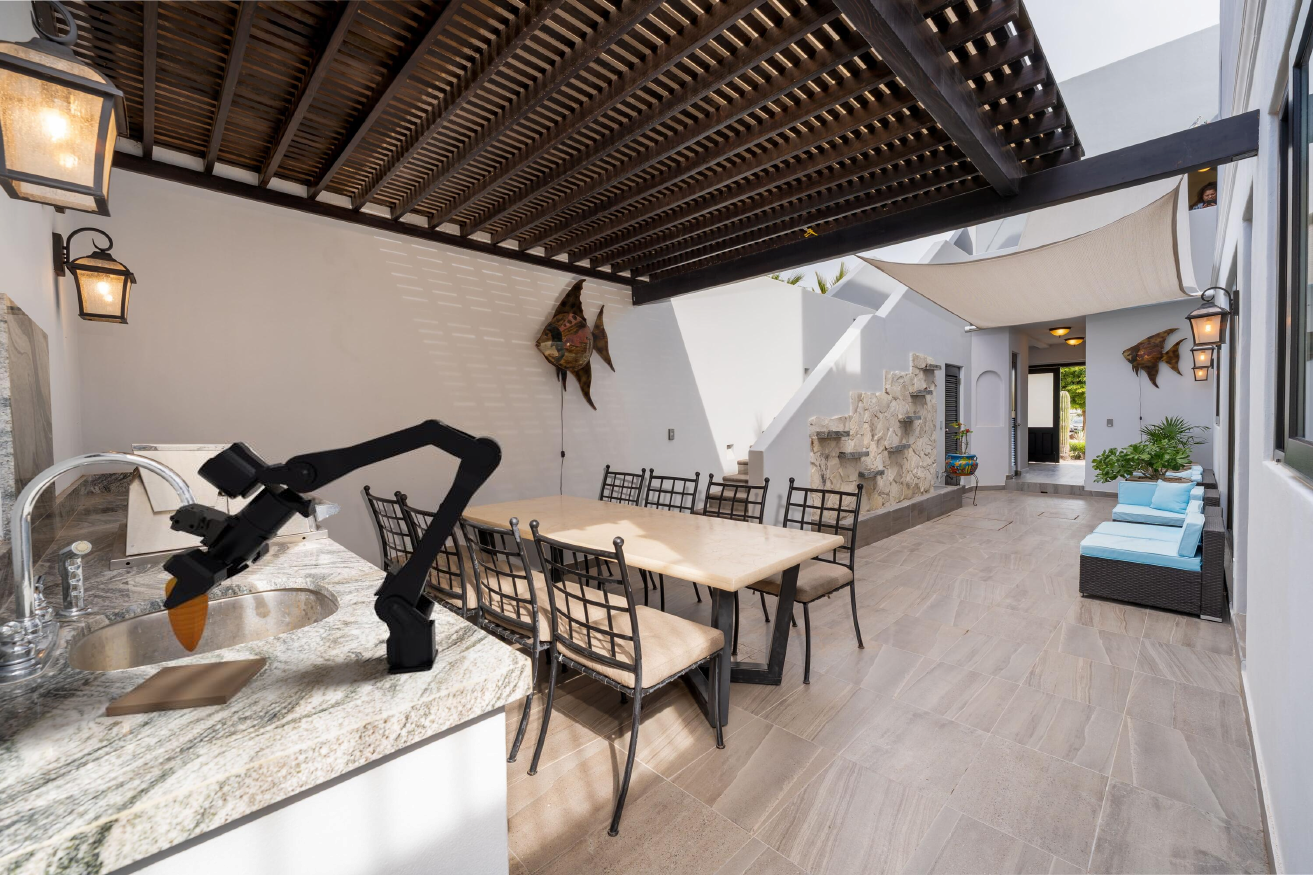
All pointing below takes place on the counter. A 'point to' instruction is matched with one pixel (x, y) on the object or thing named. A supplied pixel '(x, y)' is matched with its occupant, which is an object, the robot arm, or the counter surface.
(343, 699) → the counter surface
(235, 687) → the walnut board
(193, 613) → the carrot
